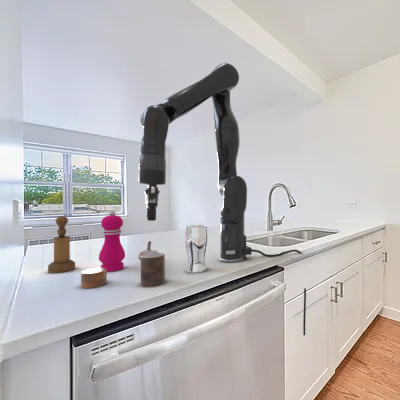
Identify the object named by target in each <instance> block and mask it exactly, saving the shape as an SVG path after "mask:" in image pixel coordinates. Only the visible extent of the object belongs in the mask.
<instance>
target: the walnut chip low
mask: <svg viewBox="0 0 400 400" xmlns="http://www.w3.org/2000/svg"><path fill="white" fill-rule="evenodd" d="M164 283H166V268H165V269H163V270H160V271H156V272H141V271H140V286H141V287H144V288H145V287H146V288H151V287H157V286H161V285H163V284H164Z"/></svg>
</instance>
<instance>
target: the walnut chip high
mask: <svg viewBox="0 0 400 400" xmlns="http://www.w3.org/2000/svg"><path fill="white" fill-rule="evenodd" d="M163 269H165V270H166V254H165V253H163V252H158V253H152V254H146V255H142V256H141V261H140V273H141V272H156V271H160V270H163Z"/></svg>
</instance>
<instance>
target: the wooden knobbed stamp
mask: <svg viewBox="0 0 400 400" xmlns="http://www.w3.org/2000/svg"><path fill="white" fill-rule="evenodd" d="M68 222H69V219H68V217H66V216H64V215H63V216H58V217H57V218H56V219H55V223H56V225H57V226H58V229H57V230H56V232H57V235H58V236H55V237H53V261H52V262H50V263H49V264H48V265H47V273H49V274H60V273H61V274H62V273H66V272H70V271H74V270H75V269H76V261H75V260H73V259H71V237H70V236H69V235H66V233H67V229H66V226H67V224H68Z"/></svg>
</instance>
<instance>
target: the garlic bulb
mask: <svg viewBox="0 0 400 400" xmlns="http://www.w3.org/2000/svg"><path fill="white" fill-rule="evenodd" d="M146 246H147V247H146V249H143V250H141V251H140V252H139V254H138V260H139V261H140V262H141V256H142V255H146V254H152V253H159V251H157V250H156V249H155V250H153V249H151V246H152V241H151V240H149V241H148V242H147V245H146Z"/></svg>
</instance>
